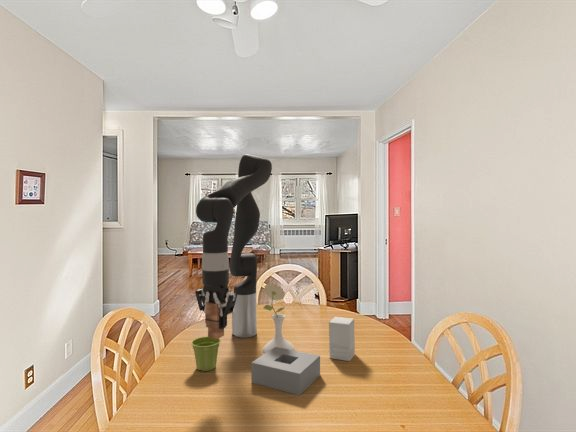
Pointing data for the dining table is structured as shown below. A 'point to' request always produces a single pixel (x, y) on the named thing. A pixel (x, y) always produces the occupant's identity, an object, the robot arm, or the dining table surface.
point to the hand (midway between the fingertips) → (216, 326)
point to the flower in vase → (276, 319)
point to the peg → (213, 320)
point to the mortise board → (286, 370)
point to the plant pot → (205, 352)
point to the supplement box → (341, 338)
